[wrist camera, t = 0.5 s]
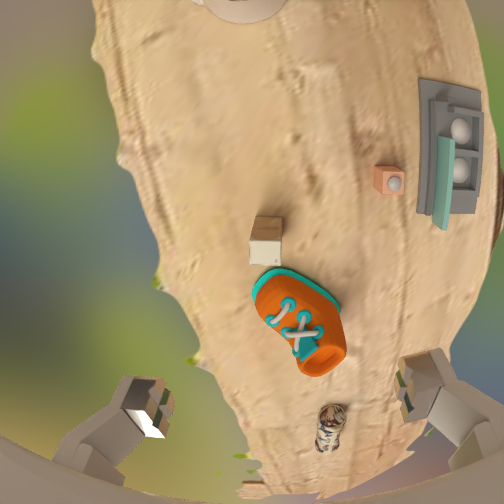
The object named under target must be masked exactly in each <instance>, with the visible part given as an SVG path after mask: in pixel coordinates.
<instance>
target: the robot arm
mask: <svg viewBox="0 0 504 504" xmlns="http://www.w3.org/2000/svg"><path fill="white" fill-rule="evenodd" d="M192 1H193V2H194V3H195V4H198V5H201V6H204V7H206V8H208V9H209V10H210V11H211V12H212V13H213V14H215V15H216V16H217V17H219V18H221V19H223V20H225V21H228V22H233V23H240V24H247V23H255V22H259V21H262V20H265V19H267V18H269V17H271V16H273V15H274V14H275V13H277V12H278V11H279V10H280V9H281V8H282V6H283V5H284V3H285V2H286V1H287V0H192ZM398 367H399V370H398V371H397V372H396V374H395V379H394V387H395V393H396V396H397V399H399V400H400V401H402V404H401V407H400V410H401V413H402V416H403V420H404V423H409V422H413V421H417V420H421V419H425V418H427V420H428V421H429V422H430V423H431V424H433V425H434V426H435V427H436V428H437V429H438V430H439V431H440V432H441V433H443V434H444V435H445V436H446V437H447V438H448V439H449V440H450V441H452V442H453V443H454V444H455V445H456V446H457V447H458V449H457V450H456V452H455V453H454V454H453V456H452V457H451V458H450V459H449V461H448V462H449V466H450V470H451V472H450V473H447V474H444V475H442V476H439V477H436V478H433V479H430V480H427V481H424V482H421V483H417V484H414V485H411V486H407V487H403V488H400V489H396V490H392V491H388V492H383V493H379V494H375V495H370V496H364V497H359V498H353V499H347V500H341V501H332V502H324V503H314V504H504V406H503V405H502V404H500V403H498V402H497V401H495V400H493V399H492V398H490V397H488V396H487V395H485V394H483V393H482V392H480V391H479V390H477V389H475V388H474V387H472V386H470V385H469V384H467V383H466V382H464V381H458V379H457V377H456V375H455V373H454V371H453V369H452V367H451V365H450V363H449V361H448V359H447V357H446V356H445V354H444V352H443V350H442V349H441V348H437V349H433V350H429V351H424V352H420V353H416V354H412V355H407V356H403V357H400V359H399V361H398ZM165 386H166V383H165V381H164V380H163V378H158V377H145V376H133V375H125V376H124V377H122V379H121V381H120V383H119V386H118V387H117V389H116V392H115V394H114V396H113V398H112V400H111V402H110V404H109V406H108V407H106V406H105V407H104V408H102V409H101V410H99V411H98V412H97V413H95V414H94V415H93V416H91V417H90V418H89V419H87V420H86V421H84V422H83V423H81V424H80V425H79V426H77V427H76V428H75V429H73V430H72V431H70V432H69V433H68V434H66V435H64V437H63V439H62V441H61V443H60V445H59V447H58V449H57V451H56V453H55V455H54V457H53V459H52V461H51V460H49V459H47V458H44V457H42V456H40V455H38V454H36V453H34V452H32V451H30V450H28V449H26V448H24V447H22V446H20V445H18V444H17V443H15V442H13V441H11V440H10V439H8V438H6V437H4V436H2V435H0V504H217V503H208V502H199V501H191V500H185V499H178V498H172V497H166V496H162V495H157V494H152V493H148V492H142V491H139V490H134V489H131V488H127V487H124V486H123V483H124V479H125V475H124V474H123V473H122V472H121V471H120V470H119V469H117V468H116V466H117V465H118V464H119V463H120V462H121V461H122V460H123V459H124V458H125V457H126V456H127V455H128V454H129V453H130V452H131V451H132V450H133V449H134V448H135V447H136V446H137V445H138V444H139V443H140V442H141V441H142V440H143V439H144V438H145V436H149V437H158V438H165V437H166V434H167V431H168V428H169V422H168V418H169V417H170V416H171V415H173V411H174V397H173V395H172V393H171V391H169V390H168V389H166V388H165Z"/></svg>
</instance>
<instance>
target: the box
mask: <svg viewBox="0 0 504 504" xmlns="http://www.w3.org/2000/svg"><path fill="white" fill-rule="evenodd" d="M281 255H282V217H267V216H256V217H255V221H254V225H253V229H252V233H251V236H250V241H249V264H250V265H266V266H280V265H281Z"/></svg>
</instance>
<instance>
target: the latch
mask: <svg viewBox="0 0 504 504" xmlns="http://www.w3.org/2000/svg"><path fill="white" fill-rule="evenodd" d="M454 158H455V139H452V138H448V137H444V136H438V158H437V176H436V190H435V200H434V209H433V218H432V222H433V223H434V224H435V225H437V226H438V227H439V228H440V229H441V230H447V227H448V220H449V213H450V205H451V196H452V186H453V174H454Z"/></svg>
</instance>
